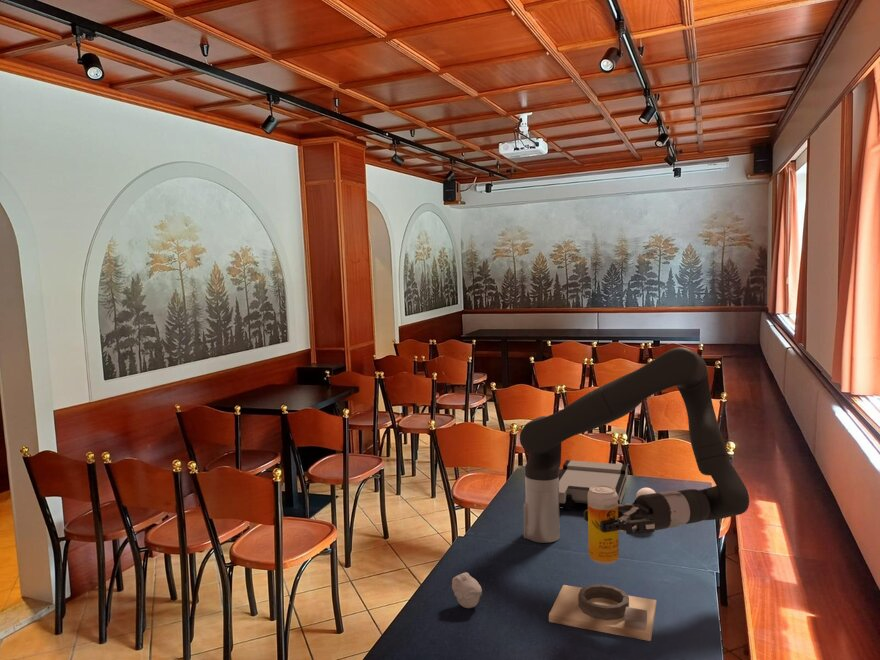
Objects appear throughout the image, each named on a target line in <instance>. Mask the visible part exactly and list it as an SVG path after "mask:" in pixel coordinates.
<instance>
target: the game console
mask: <svg viewBox="0 0 880 660" xmlns="http://www.w3.org/2000/svg"><path fill="white" fill-rule="evenodd" d="M627 481H628V464H622V463H611V462H610V463H609V462H606V463H605V462H595V461H582V460H571V459H570V460H569V459H566V460H565V462H564V463H563V464H562V469H561V471H559V507H563V508H562V509H564V508H570V509H569V510H574V508H575V506H574V505H576V504H577V503H578V504H579V503H580V504H588V492H589V488H590V487H592V486H597V485H605V486H610V487H613V488H615V490H616V493H617V495H618V500H620V504H622V501H623V499H624V495H625V492H626V488H627V487H626V483H627ZM575 503H576V504H575ZM573 507H574V508H573Z"/></svg>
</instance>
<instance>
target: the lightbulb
mask: <svg viewBox="0 0 880 660" xmlns="http://www.w3.org/2000/svg"><path fill="white" fill-rule="evenodd" d="M652 493H657V492H656V491H655V490H654V489H653V488H650V487H642V488H640V489H639V490H638V491H637V492H636V494H635V499H636V498H637V497H638V496H640V495H646V494H652Z"/></svg>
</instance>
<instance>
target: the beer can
mask: <svg viewBox="0 0 880 660" xmlns="http://www.w3.org/2000/svg"><path fill="white" fill-rule="evenodd" d="M587 510H588V521H587V525H588V526H587V528H588V534H587V535H588V536H587V537H588V556H589V557H590V559H591V560H592V561H593V562H594V563H596V564H599V565H612V564H615V563H616V562H617V560H618V559H620V552H619V551H620V548H619V545H620V544H619V541H620V540H619V530H617V531H611V532H605V533H603V532H602V531H601V530H600V522H601V521H604V520H611V519H617V520H618V495H617V493H616V490H615V488H613V487H610V486H605V485H597V486H592V487H590V488H589V492H588V503H587Z"/></svg>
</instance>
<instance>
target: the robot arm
mask: <svg viewBox="0 0 880 660" xmlns="http://www.w3.org/2000/svg"><path fill="white" fill-rule="evenodd" d="M709 379H710V378H709V373H708V366H707V363H706V361H705V360H704V358H703V357H702V356H701V355H700V354H698V353H696V352H695V351H693V350H692V349H689V348H687V347H680V346H679V347H674V348H672V349H669V350H667V351H665V352H664V353H662V354H660V355H659V356H658V357H655V358H654V359H652V360H650V362H648V363H647V364H645V365H643V366H641V367H640V368H638V369H636V370H634V371H632V372H629V373H627V374H625V375H622V376H620V377H618V378H616V379H614V380H612V381H610V382H608V383H604V384H603V385H601V386H599V387H597V388H594V389H593V390H591V391H589V392H587V393H586V394H584V395H582V396H581V397H579V398H578V399H576V400H574V401H573V402H571V403H569V404H568V405H567V406H565V407H564V408H562V409H560V410H559V411H556V412H555V413H552V414H550V415H548V416H546V415H545V416H544V415H543V416H539V417H536V418H534V419H532V420H529V421H528V422H527V423H526V424H525V425H524V426H523V427H522V429H521V430H520V433H519V443H520V445H521V447H522V449H524V450H525V451H526V452H528V453H529V455H528V460H527V462H526V464H525V467H524V485H525V490H524V492H525V502H524V503H523V505H522V506H523V510H522V511H523V538H524V539H527V540H529V541H532V542H535V543H545V544H547V543H553V542H556V541H559V539H560V537H561V536H560V535H561V534H560V532H561V530H560V529H561V528H560V525H561V523H560V508H559V474H560V468H561V465H562V464H561V463H562V443H563V442H564V441H566V440H568V439H570V438H572V437H574V436H577V435H580V434H583V433H587V432H589V431H592V430H595V429H599V428H600V427H604V426H605V425H608V424H610V423H612V422H615V421H616V420H619V419H621V418H623V417H625V416H627V415H628V414H630V413H631V412H632V411H634V410H635V409H636V408H637V407H638V406H640V405H641V404H642V403H643V402H644V401H646V399H648V398H649V397H651V396H653V395H655V394H657V393H660V392H662V391H665V390H668V389H670V388H674V387H676V388H677V389H678V392H679V393H680V396H681V397H682V400H683V403H684V405H685V409H686V414H687V422H688V433H689V434H688V435H689V439H690V445H691V449H692V453H693V455H694V458H695V462H696V465H697V468H698V471H699V472H700V473H701V474H702V476H703V475H704V476H708V477H709V476H711V478H712V480H713V482H714V484H715V486H712V487H707V488H702V489H694V488H693V489H692V488H689V489H682V490H675V491H669V490H668V491H660V492H656V493H652V494H646V495H640V496H638V497H637V498H636V497H635V499H634V501H633V503H629V502H626V503H625V502H623V503H621V504H620V500H618V520H617V519H611V520H604V521H601V522H600V530H601V531H602V532H603V533H605V532H611V531H617V530H618V532H625V534H627V535H630V536H631V535H637V534H640V535H641V534H649V533H655V531H659V530H660V531H661V530H667V529H672V528H677V527H680V526H682V525H688V524H694V523H700V522H703V521H713V520H716V521H717V520H722V519H726V518H730V517H734V516H741V515H743V514H745V512H747V510H748V509H749V506H750V495H749V491H748V489H747V487H746V485H745V483H744V482H743V480H742V479H741V477H740V475H739V473H738V472H737V470H736V469H735V467H734V465H733V464H732V463H731V461H730V460H731V459H730V457H729V453H728V449H727V447H726V444H725V440H724V438H723V434H722V432H721V428H720V426H719V422H718V419H717V415H716V412H715V409H714V404H713V400H712V395H711V389H710V382H709V381H710V380H709ZM583 520H584V521H586V522H588V509H585V510H583Z"/></svg>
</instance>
